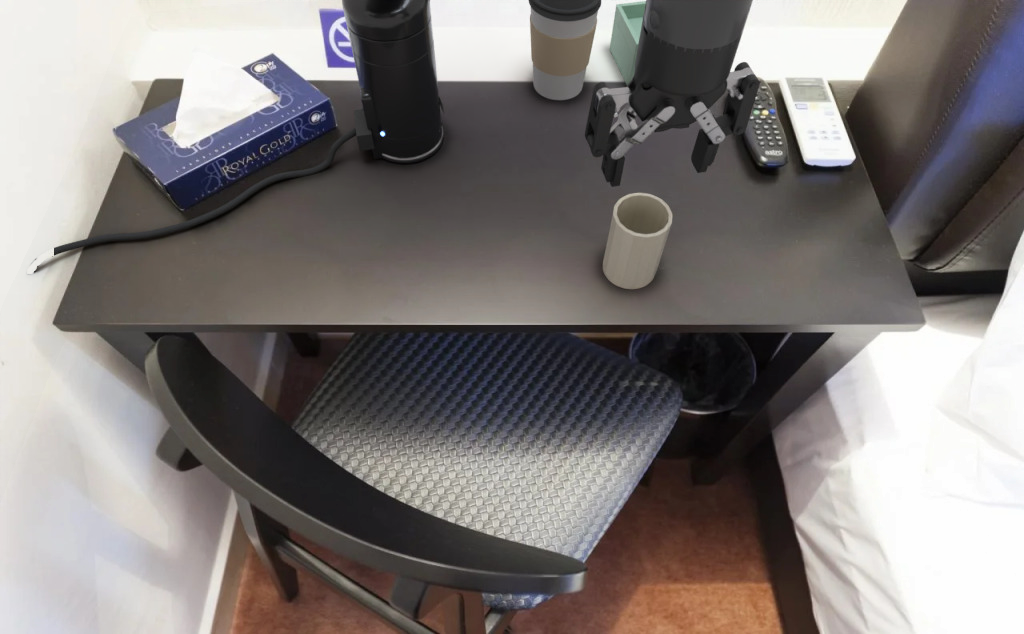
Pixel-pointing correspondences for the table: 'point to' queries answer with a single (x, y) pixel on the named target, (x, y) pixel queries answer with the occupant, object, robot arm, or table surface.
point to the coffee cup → (561, 45)
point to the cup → (636, 240)
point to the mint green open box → (626, 36)
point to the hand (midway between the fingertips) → (655, 173)
